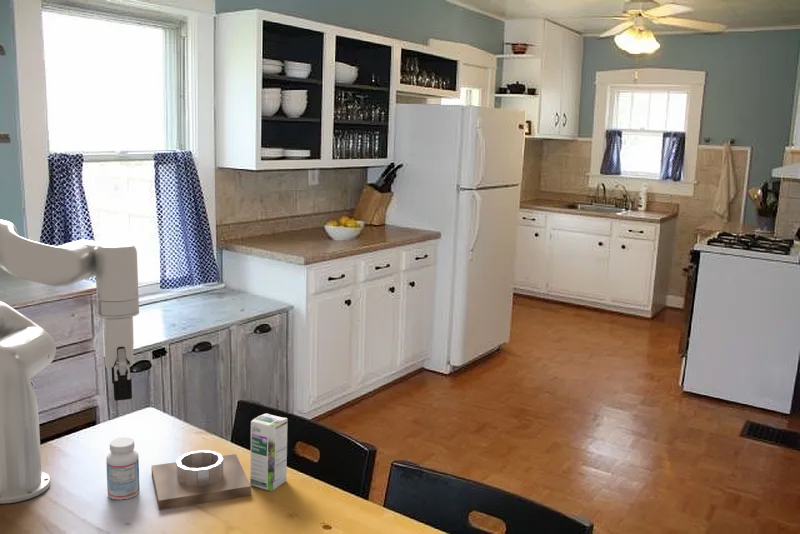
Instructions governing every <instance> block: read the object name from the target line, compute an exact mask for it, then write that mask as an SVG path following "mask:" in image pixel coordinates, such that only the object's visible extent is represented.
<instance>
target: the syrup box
mask: <svg viewBox="0 0 800 534" xmlns="http://www.w3.org/2000/svg"><path fill="white" fill-rule="evenodd" d="M287 457H288V418H287V417H283V416H282V417H281V416H277V415H273V414H270V413H263V414H261V415H258V416H257V417H254V418H253V419H252V420H251V421H250V477H249V480H250V481H249V483H250V485H251V487H255V488H260V489H262V490H266V491H269V492H273V491H275V490H276V489H277V488H279V487H280V486H282V484H284V483H286V481H287V468H288V467H287V466H288V465H287V463H288V462H287V460H288V459H287Z"/></svg>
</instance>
